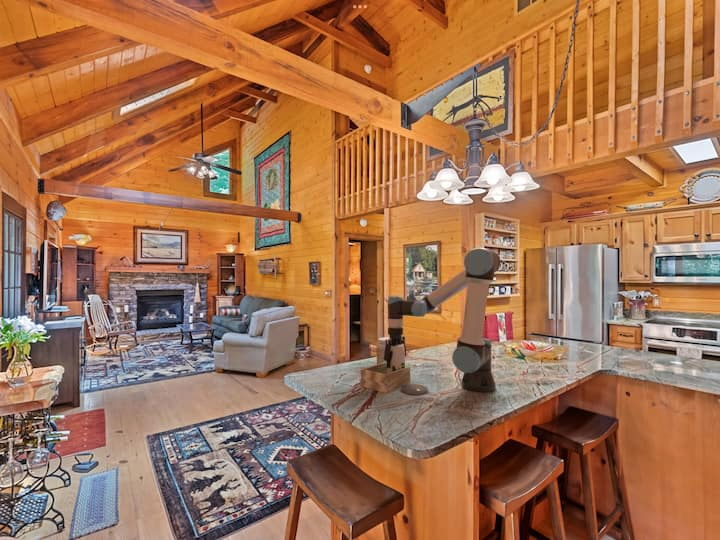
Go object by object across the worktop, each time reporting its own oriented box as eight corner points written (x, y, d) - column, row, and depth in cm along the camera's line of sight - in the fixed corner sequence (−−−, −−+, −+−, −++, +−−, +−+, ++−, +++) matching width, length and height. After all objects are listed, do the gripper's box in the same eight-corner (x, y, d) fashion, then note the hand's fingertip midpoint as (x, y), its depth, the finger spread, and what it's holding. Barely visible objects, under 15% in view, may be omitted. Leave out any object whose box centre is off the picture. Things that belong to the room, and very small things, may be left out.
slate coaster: (432, 389, 160) (432, 387, 160) (418, 396, 151) (418, 394, 151) (410, 384, 168) (410, 382, 168) (396, 390, 159) (396, 388, 159)
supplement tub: (384, 364, 206) (384, 336, 206) (402, 368, 199) (402, 338, 199) (372, 369, 196) (372, 339, 196) (391, 372, 189) (391, 341, 189)
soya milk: (387, 377, 179) (387, 338, 179) (405, 378, 177) (405, 339, 178) (385, 383, 170) (385, 342, 171) (404, 384, 169) (404, 342, 169)
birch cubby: (410, 383, 170) (410, 366, 171) (386, 393, 156) (386, 375, 156) (385, 377, 180) (385, 361, 181) (360, 386, 166) (360, 369, 166)
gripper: (401, 324, 185) (401, 366, 185) (376, 328, 169) (376, 375, 168) (413, 325, 180) (413, 369, 180) (388, 330, 164) (388, 378, 163)
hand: (395, 372), depth 174 cm, fingers closed on soya milk, 9 cm apart
